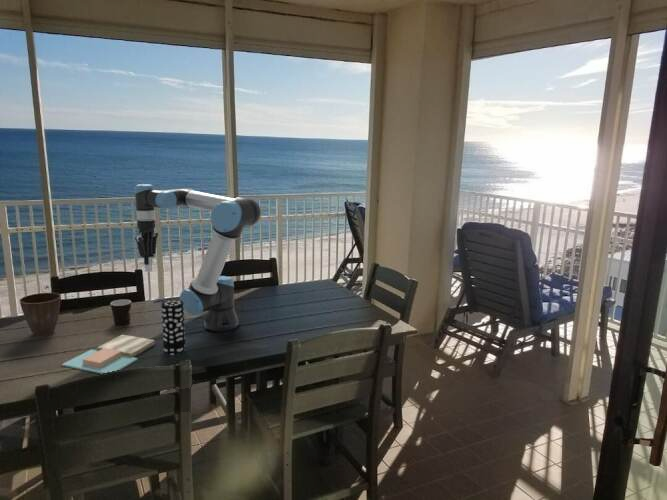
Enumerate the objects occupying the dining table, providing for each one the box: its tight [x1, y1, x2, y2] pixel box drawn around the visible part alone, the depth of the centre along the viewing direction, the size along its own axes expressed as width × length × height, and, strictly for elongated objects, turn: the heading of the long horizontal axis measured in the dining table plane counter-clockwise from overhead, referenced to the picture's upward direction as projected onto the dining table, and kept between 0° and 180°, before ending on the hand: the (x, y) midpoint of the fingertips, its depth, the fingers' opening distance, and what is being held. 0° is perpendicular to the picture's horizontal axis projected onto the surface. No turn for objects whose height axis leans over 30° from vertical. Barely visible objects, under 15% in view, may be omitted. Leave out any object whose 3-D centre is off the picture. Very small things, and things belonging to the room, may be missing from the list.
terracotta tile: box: [82, 348, 122, 368], centre depth 181 cm, size 8×11×2 cm
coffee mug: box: [110, 299, 132, 327], centre depth 220 cm, size 12×9×10 cm
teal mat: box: [61, 349, 139, 375], centre depth 180 cm, size 22×14×1 cm, turn 72°
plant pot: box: [19, 292, 62, 337], centre depth 204 cm, size 15×15×16 cm
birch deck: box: [96, 334, 156, 358], centre depth 193 cm, size 16×14×2 cm
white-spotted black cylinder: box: [160, 299, 186, 356], centre depth 190 cm, size 8×8×20 cm
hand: (148, 270), depth 217 cm, fingers closed
